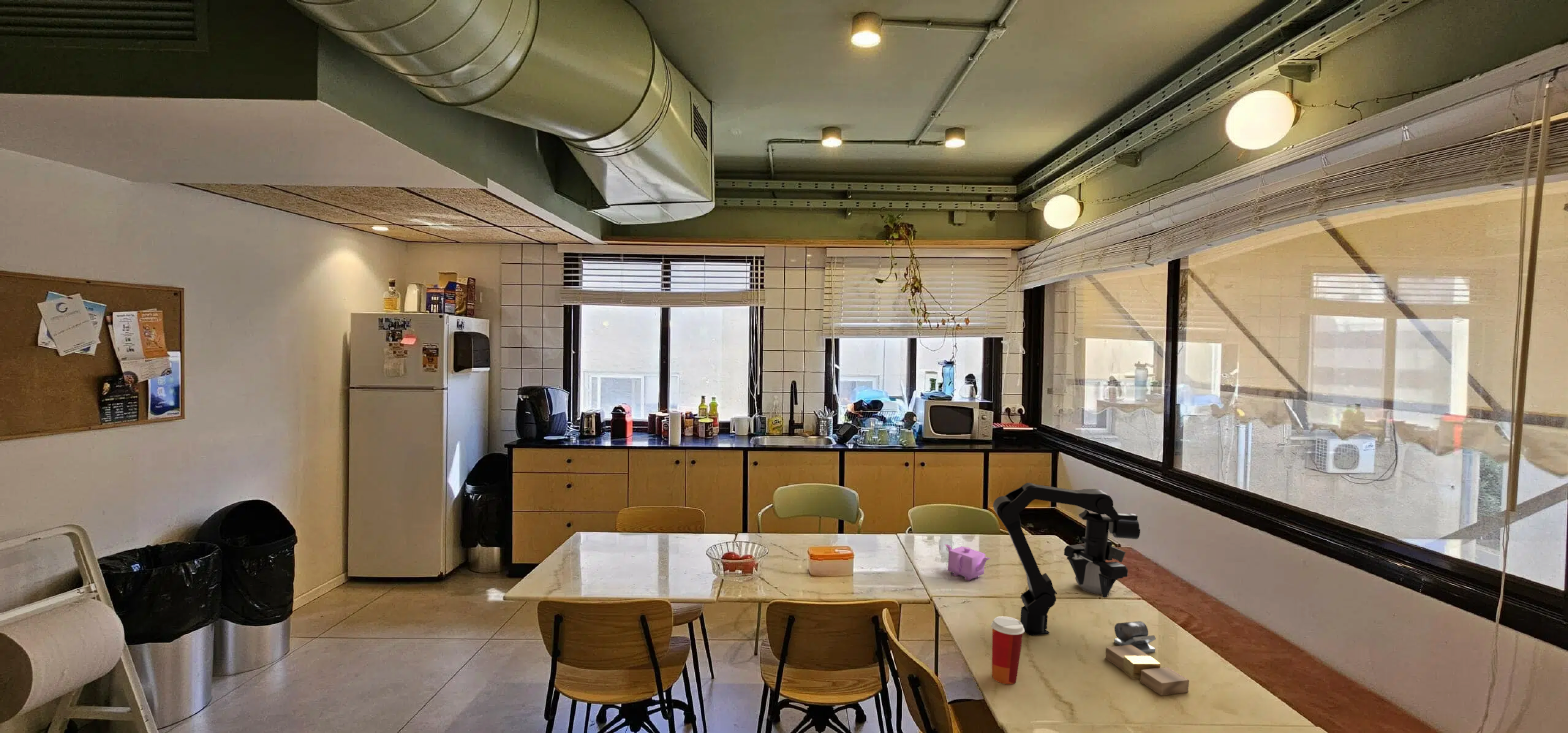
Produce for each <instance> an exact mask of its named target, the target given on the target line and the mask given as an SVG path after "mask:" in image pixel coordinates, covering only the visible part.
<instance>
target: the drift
mask: <svg viewBox="0 0 1568 733" xmlns="http://www.w3.org/2000/svg"><path fill="white" fill-rule="evenodd" d="M1154 668H1161V663H1160V662H1159V661H1158V660H1156V659H1155V658H1153V657H1152V656H1151V655H1149V656H1124V663H1123V670H1122V671H1123V672H1124V673H1125V674H1126V675H1127V676H1128V677H1130V678H1131V679H1132V680H1141V670H1145V669H1154Z"/></svg>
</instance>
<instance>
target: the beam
mask: <svg viewBox="0 0 1568 733" xmlns="http://www.w3.org/2000/svg"><path fill="white" fill-rule="evenodd" d="M1124 656H1150V655H1149V654H1148V653H1144V652H1142V651H1141V650H1139V649H1138V648H1136V647H1134V646H1133V645H1124V646H1119V645H1116V646H1106V647H1105V656H1104V657H1105V660H1107V661H1109V662H1110V663H1111V664H1113V665H1115V666H1116V667H1117V668H1119V669H1120V670H1122V671H1123V663H1124ZM1140 683H1142V684H1143V685H1144V686H1146V687H1147V688H1149V689H1150V690H1152V691H1154V693H1156V694H1158V695H1159V696H1167V695H1174V694H1175V695H1177V694H1183V693H1184V694H1185V693H1189V685H1190V684H1189V683H1190V680H1189V678H1188V677H1185V676H1184V675H1181V674H1180V673H1179V672H1177V671H1175V670H1173V669H1172V668H1170V667H1169V666H1166V667H1160V668H1154V669H1145V670H1141V679H1140Z"/></svg>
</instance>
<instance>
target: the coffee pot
mask: <svg viewBox="0 0 1568 733" xmlns="http://www.w3.org/2000/svg"><path fill="white" fill-rule="evenodd" d="M1099 574H1101V572H1100V567H1099V566H1097V565H1095V564H1093V563H1091V562H1088V563H1087V565H1086V569H1085V577H1084V583H1083V585H1080V584H1079V583H1078V580H1077V578H1076V576H1075V578H1074V579H1075V582H1076V584H1077V585H1078V586H1079V587H1080V588H1081V590H1083V591H1084V592H1086V593H1090V594H1096V595H1102V593H1101V587H1100V580H1099Z"/></svg>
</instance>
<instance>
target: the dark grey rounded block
mask: <svg viewBox="0 0 1568 733" xmlns="http://www.w3.org/2000/svg"><path fill="white" fill-rule="evenodd" d="M1114 634H1115V636H1116V638H1118V639H1120V640H1122V641H1124V640H1129V639H1131V638H1133V637H1141V636H1149V629H1148V626H1147V624H1146V623H1145V622H1143V621H1141V620H1140V621H1139V620H1138V621H1128V622H1127V621H1126V622H1118V623H1116V624H1115V625H1114Z"/></svg>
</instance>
